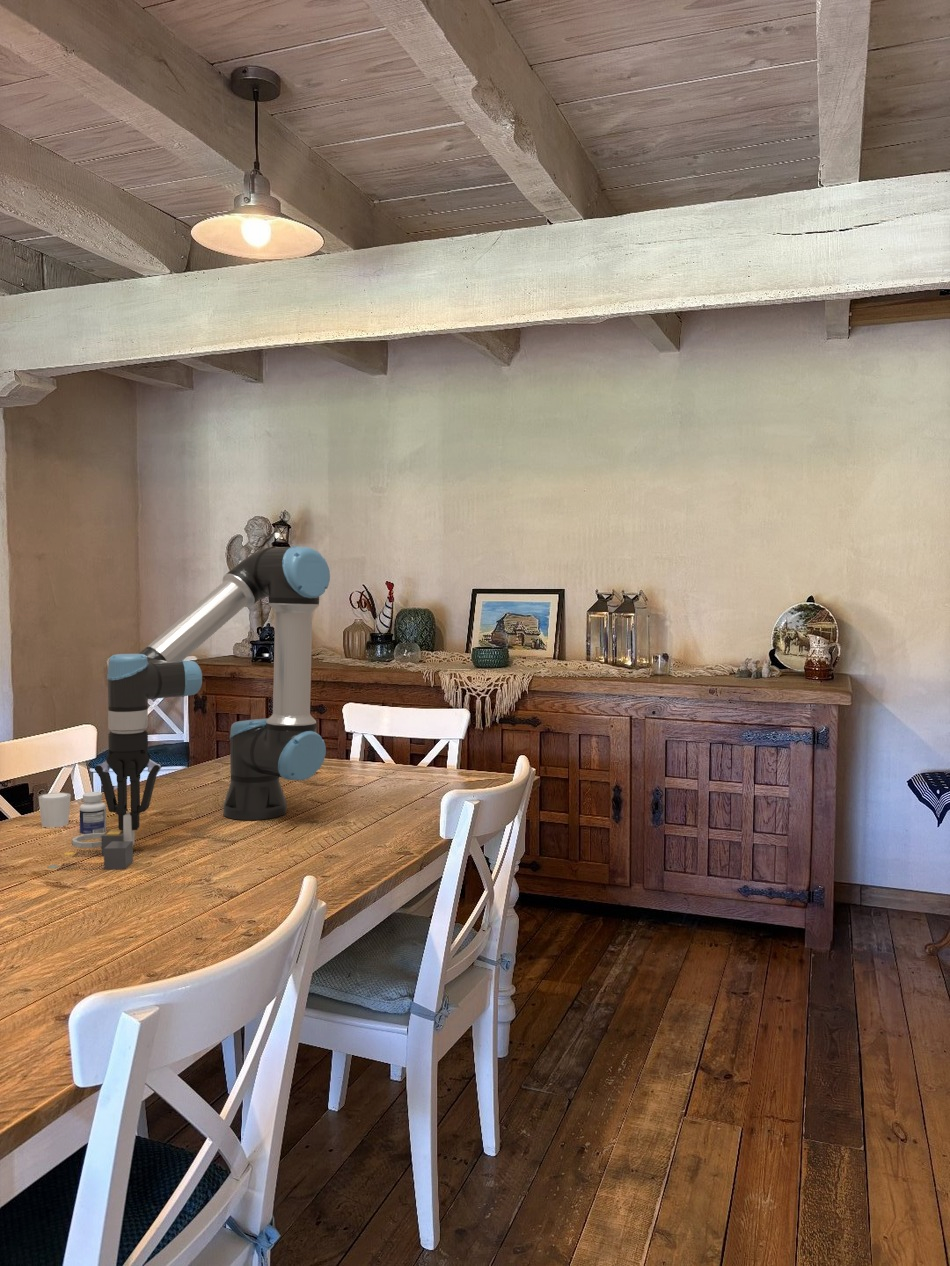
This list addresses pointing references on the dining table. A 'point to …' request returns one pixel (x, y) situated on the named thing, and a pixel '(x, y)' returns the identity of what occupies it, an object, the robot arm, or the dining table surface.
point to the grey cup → (54, 809)
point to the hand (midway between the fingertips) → (129, 845)
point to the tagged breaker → (111, 837)
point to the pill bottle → (92, 814)
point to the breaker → (118, 855)
